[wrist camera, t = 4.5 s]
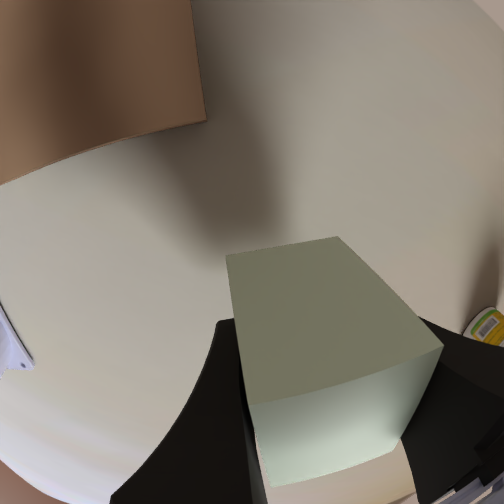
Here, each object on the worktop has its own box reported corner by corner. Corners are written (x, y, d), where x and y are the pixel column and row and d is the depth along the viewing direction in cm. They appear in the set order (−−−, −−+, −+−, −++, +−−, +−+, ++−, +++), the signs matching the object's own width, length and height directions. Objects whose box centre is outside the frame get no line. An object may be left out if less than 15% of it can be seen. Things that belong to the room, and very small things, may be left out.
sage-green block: (245, 359, 12) (270, 487, 7) (225, 255, 10) (248, 405, 4) (334, 340, 12) (392, 450, 7) (337, 236, 10) (443, 345, 5)
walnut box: (21, 176, 11) (-14, 191, 8) (10, 15, 7) (-19, 3, 4) (207, 121, 11) (206, 119, 9) (184, -53, 7) (180, -85, 5)
